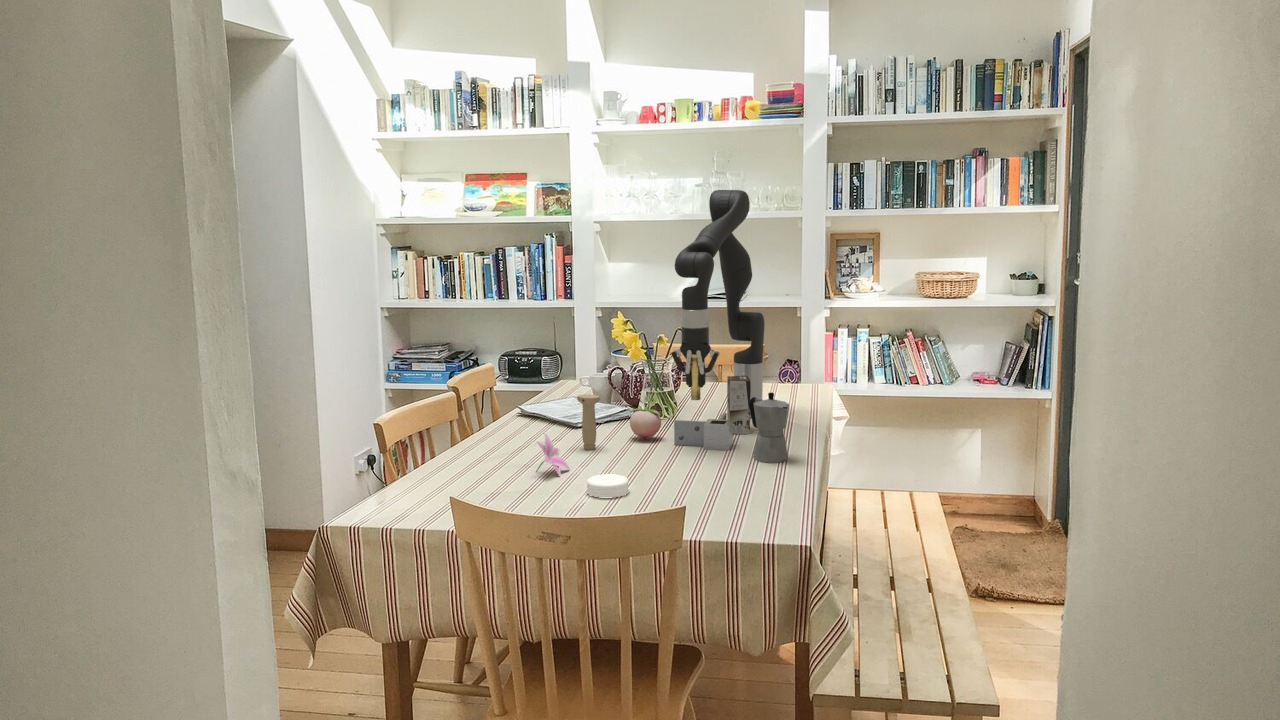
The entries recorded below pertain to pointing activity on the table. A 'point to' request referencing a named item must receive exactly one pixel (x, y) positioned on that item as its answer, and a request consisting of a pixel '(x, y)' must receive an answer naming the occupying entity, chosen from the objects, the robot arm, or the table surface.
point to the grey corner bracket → (705, 433)
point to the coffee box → (739, 403)
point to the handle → (588, 419)
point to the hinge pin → (695, 378)
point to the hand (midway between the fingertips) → (695, 386)
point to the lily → (552, 455)
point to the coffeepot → (769, 428)
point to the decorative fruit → (645, 422)
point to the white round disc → (607, 485)
